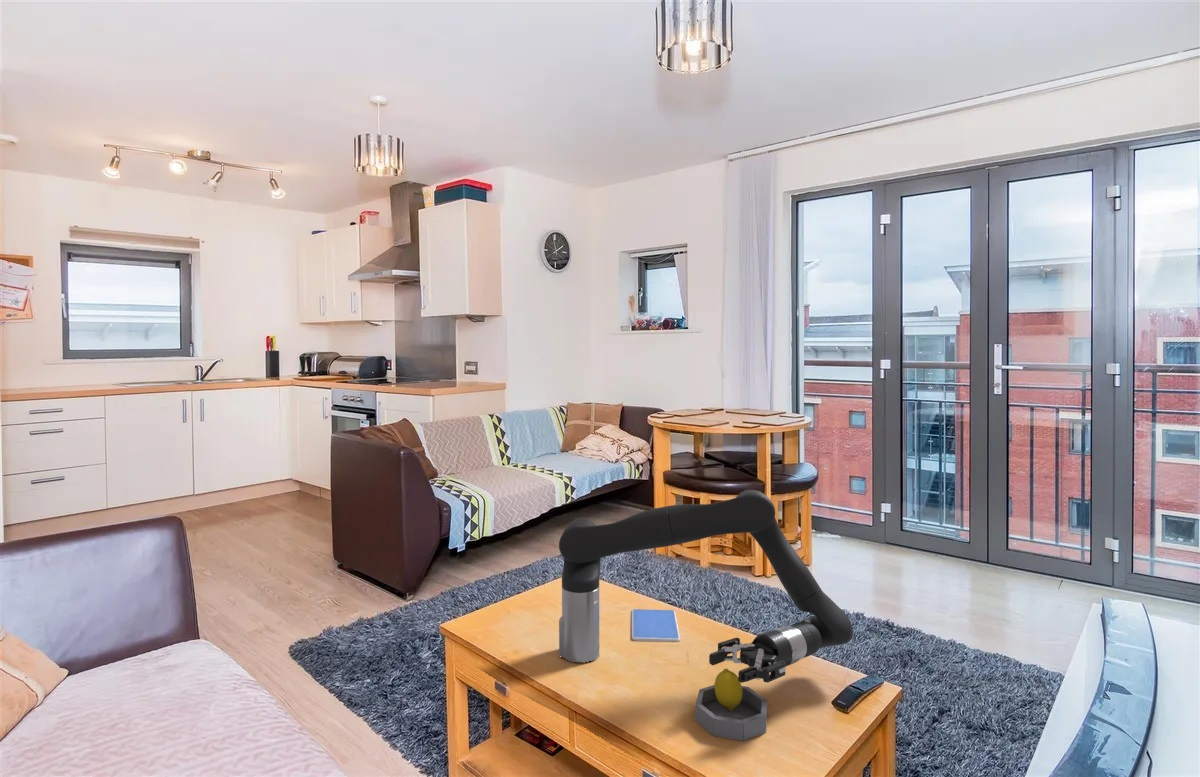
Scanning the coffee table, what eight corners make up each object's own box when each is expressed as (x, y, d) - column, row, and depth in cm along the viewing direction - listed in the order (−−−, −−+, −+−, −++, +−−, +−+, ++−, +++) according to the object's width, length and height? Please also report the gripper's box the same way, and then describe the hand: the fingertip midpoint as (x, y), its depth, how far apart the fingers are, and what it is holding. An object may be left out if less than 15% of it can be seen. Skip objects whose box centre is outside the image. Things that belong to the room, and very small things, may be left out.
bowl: (692, 732, 122) (692, 714, 122) (701, 695, 136) (701, 679, 135) (765, 744, 118) (765, 726, 118) (767, 705, 132) (767, 689, 131)
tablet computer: (631, 612, 181) (631, 608, 181) (675, 613, 181) (675, 608, 180) (631, 642, 162) (631, 637, 162) (680, 644, 161) (680, 639, 161)
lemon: (745, 713, 124) (739, 669, 127) (716, 714, 125) (711, 670, 128) (744, 708, 129) (739, 666, 132) (717, 709, 130) (712, 667, 133)
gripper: (755, 619, 140) (700, 636, 131) (807, 643, 128) (751, 664, 119) (754, 651, 140) (700, 671, 131) (807, 679, 128) (751, 703, 120)
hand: (724, 668), depth 125 cm, fingers open, 8 cm apart
